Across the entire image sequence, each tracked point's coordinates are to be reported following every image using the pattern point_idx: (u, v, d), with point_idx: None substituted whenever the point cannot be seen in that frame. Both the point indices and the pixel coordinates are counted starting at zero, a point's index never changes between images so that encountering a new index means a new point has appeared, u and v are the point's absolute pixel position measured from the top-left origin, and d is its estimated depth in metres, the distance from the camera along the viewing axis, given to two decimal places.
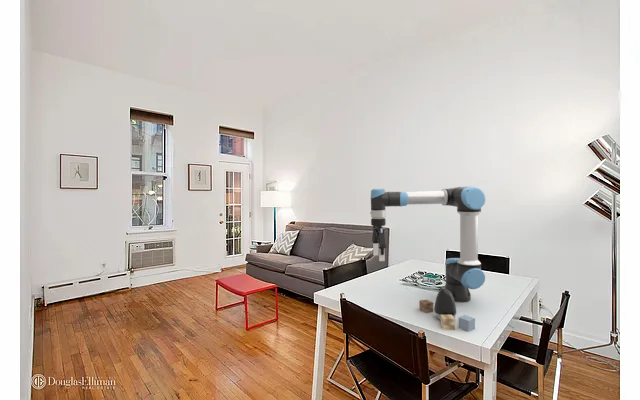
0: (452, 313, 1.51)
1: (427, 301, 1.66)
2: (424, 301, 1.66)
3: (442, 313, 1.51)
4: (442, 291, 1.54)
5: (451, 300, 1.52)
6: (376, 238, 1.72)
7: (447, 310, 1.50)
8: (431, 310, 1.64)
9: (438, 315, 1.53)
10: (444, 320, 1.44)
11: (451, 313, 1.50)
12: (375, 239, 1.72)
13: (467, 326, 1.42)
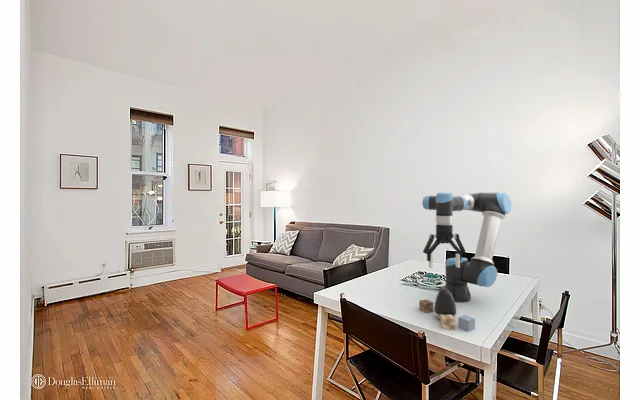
0: (452, 313, 1.51)
1: (427, 301, 1.66)
2: (424, 301, 1.66)
3: (442, 313, 1.51)
4: (442, 291, 1.54)
5: (451, 300, 1.52)
6: (454, 247, 1.55)
7: (447, 310, 1.50)
8: (431, 310, 1.64)
9: (438, 315, 1.53)
10: (444, 320, 1.44)
11: (451, 313, 1.50)
12: (454, 248, 1.55)
13: (467, 326, 1.42)
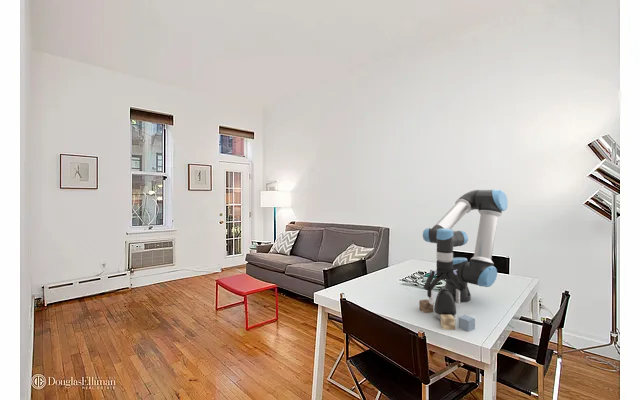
0: (452, 313, 1.51)
1: (427, 301, 1.66)
2: (424, 301, 1.66)
3: (442, 313, 1.51)
4: (442, 291, 1.54)
5: (451, 300, 1.52)
6: (454, 283, 1.55)
7: (447, 310, 1.50)
8: (431, 310, 1.64)
9: (438, 315, 1.53)
10: (444, 320, 1.44)
11: (451, 313, 1.50)
12: (454, 284, 1.56)
13: (467, 326, 1.42)
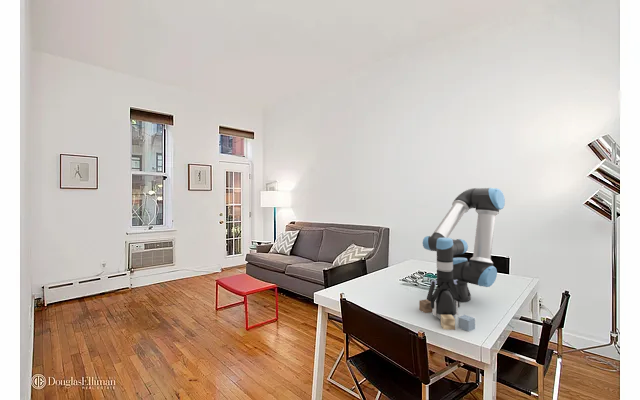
0: (452, 313, 1.51)
1: (427, 301, 1.66)
2: (424, 301, 1.66)
3: (442, 313, 1.51)
4: (442, 291, 1.54)
5: (451, 300, 1.52)
6: (452, 293, 1.55)
7: (447, 310, 1.50)
8: (431, 310, 1.64)
9: (438, 315, 1.53)
10: (444, 320, 1.44)
11: (451, 313, 1.50)
12: (453, 294, 1.56)
13: (467, 326, 1.42)
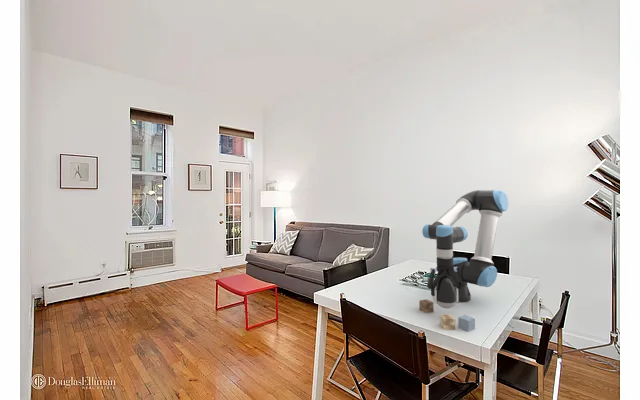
0: (452, 300, 1.51)
1: (427, 301, 1.66)
2: (424, 301, 1.66)
3: (442, 300, 1.51)
4: (442, 278, 1.54)
5: (451, 287, 1.52)
6: (453, 281, 1.55)
7: (447, 297, 1.50)
8: (431, 310, 1.64)
9: (439, 302, 1.53)
10: (444, 320, 1.44)
11: (451, 300, 1.50)
12: (453, 282, 1.56)
13: (467, 326, 1.42)
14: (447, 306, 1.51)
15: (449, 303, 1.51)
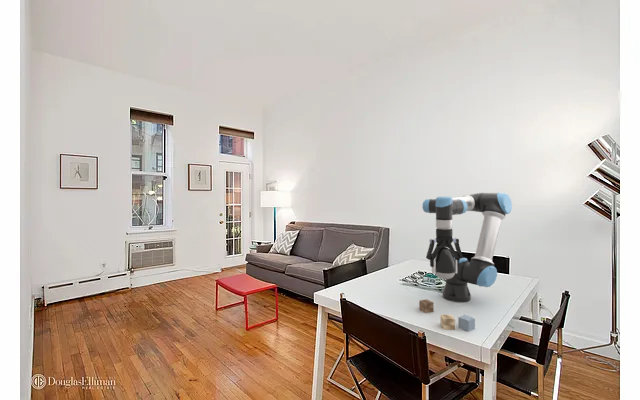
0: (452, 270, 1.50)
1: (427, 301, 1.66)
2: (424, 301, 1.66)
3: (442, 271, 1.51)
4: (441, 249, 1.53)
5: (450, 258, 1.51)
6: (452, 252, 1.55)
7: (446, 267, 1.50)
8: (431, 310, 1.64)
9: (438, 273, 1.53)
10: (444, 320, 1.44)
11: (451, 270, 1.50)
12: (452, 253, 1.56)
13: (467, 326, 1.42)
14: (446, 277, 1.51)
15: (448, 274, 1.51)
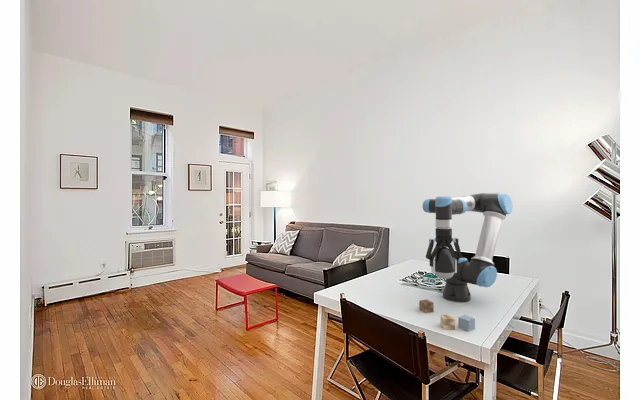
0: (451, 270, 1.51)
1: (427, 301, 1.66)
2: (424, 301, 1.66)
3: (441, 270, 1.51)
4: (441, 249, 1.54)
5: (450, 257, 1.52)
6: (451, 252, 1.56)
7: (446, 267, 1.51)
8: (431, 310, 1.64)
9: (437, 273, 1.54)
10: (444, 320, 1.44)
11: (450, 270, 1.51)
12: (452, 253, 1.56)
13: (467, 326, 1.42)
14: (445, 276, 1.52)
15: (447, 273, 1.51)
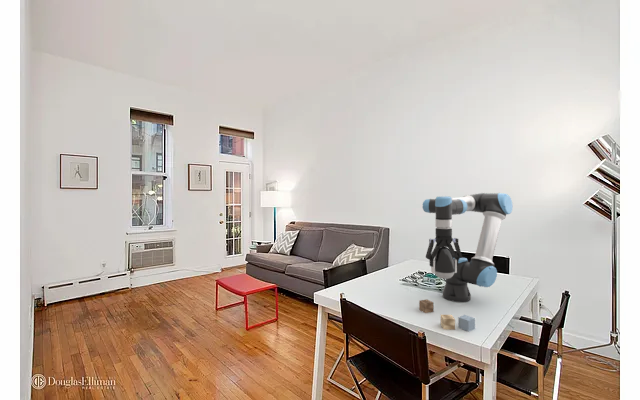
0: (451, 270, 1.51)
1: (427, 301, 1.66)
2: (424, 301, 1.66)
3: (441, 270, 1.51)
4: (441, 249, 1.54)
5: (450, 257, 1.52)
6: (451, 252, 1.56)
7: (446, 267, 1.51)
8: (431, 310, 1.64)
9: (437, 273, 1.54)
10: (444, 320, 1.44)
11: (450, 270, 1.51)
12: (452, 253, 1.56)
13: (467, 326, 1.42)
14: (445, 276, 1.52)
15: (447, 273, 1.51)
